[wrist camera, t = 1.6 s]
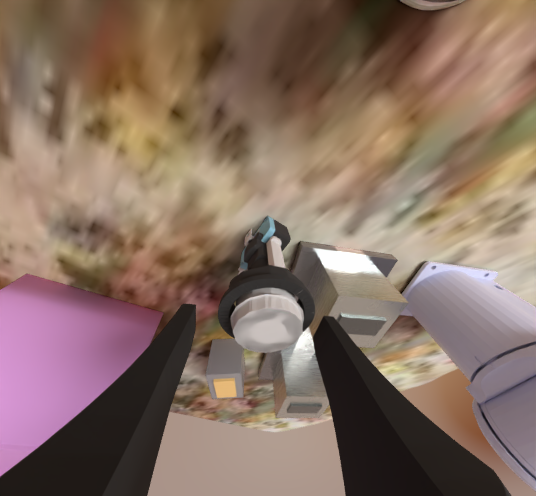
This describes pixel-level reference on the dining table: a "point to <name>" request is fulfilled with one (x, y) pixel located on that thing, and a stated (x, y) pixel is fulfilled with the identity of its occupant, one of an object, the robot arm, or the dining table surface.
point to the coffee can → (431, 4)
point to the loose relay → (226, 369)
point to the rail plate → (342, 309)
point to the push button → (266, 295)
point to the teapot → (60, 356)
